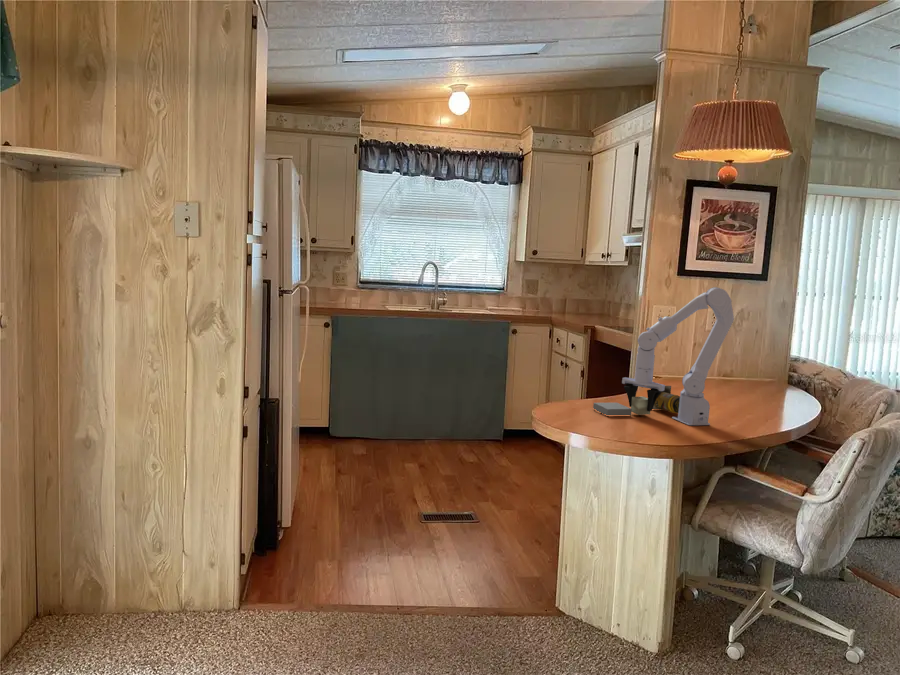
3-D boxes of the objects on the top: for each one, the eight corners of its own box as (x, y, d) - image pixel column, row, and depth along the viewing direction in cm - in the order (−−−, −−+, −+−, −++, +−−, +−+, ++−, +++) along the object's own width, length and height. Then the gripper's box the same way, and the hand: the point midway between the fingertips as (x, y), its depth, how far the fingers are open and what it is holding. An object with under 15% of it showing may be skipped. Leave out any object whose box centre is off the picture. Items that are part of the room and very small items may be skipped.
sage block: (650, 414, 223) (651, 399, 222) (638, 414, 221) (639, 399, 221) (642, 411, 227) (643, 396, 226) (630, 411, 226) (631, 396, 225)
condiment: (651, 409, 234) (671, 415, 223) (652, 385, 234) (673, 390, 222) (669, 409, 236) (690, 415, 225) (670, 385, 236) (692, 390, 224)
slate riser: (630, 417, 222) (631, 408, 222) (606, 418, 219) (607, 409, 219) (616, 411, 231) (616, 402, 230) (592, 411, 228) (593, 402, 228)
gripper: (670, 370, 220) (666, 411, 222) (631, 363, 230) (627, 402, 232) (660, 372, 215) (656, 414, 217) (620, 365, 225) (616, 405, 227)
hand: (640, 408), depth 224 cm, fingers closed on sage block, 6 cm apart
